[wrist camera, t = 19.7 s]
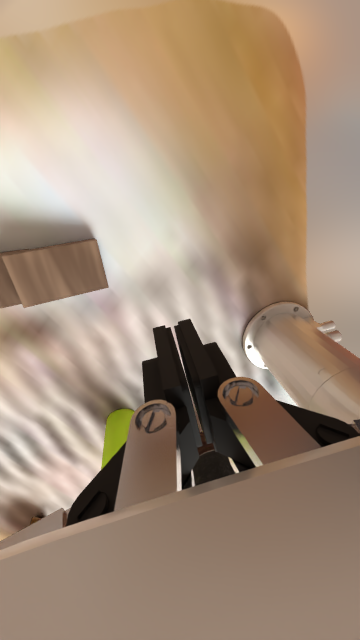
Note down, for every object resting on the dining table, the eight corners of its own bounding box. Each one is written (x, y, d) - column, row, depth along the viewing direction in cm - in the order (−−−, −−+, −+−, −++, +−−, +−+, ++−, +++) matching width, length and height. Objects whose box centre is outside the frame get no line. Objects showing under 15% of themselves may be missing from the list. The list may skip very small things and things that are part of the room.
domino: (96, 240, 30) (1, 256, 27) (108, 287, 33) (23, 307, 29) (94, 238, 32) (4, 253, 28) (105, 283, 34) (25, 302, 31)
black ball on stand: (165, 463, 53) (177, 552, 40) (197, 420, 49) (222, 502, 36) (216, 474, 58) (241, 557, 44) (249, 435, 54) (287, 513, 40)
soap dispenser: (124, 399, 44) (120, 537, 26) (145, 422, 47) (154, 559, 29) (96, 415, 44) (72, 561, 26) (118, 437, 47) (111, 580, 30)
